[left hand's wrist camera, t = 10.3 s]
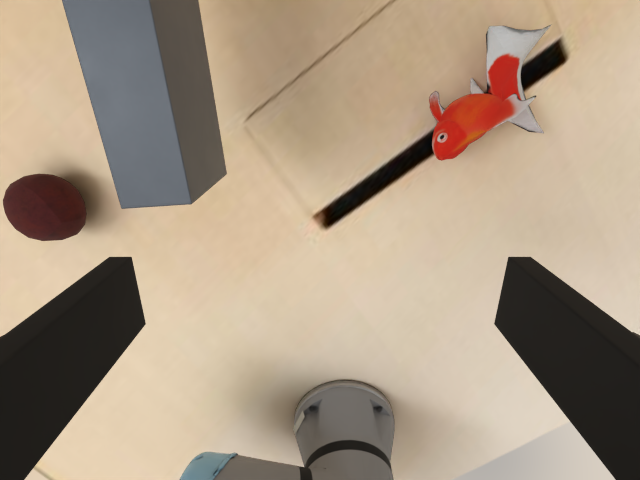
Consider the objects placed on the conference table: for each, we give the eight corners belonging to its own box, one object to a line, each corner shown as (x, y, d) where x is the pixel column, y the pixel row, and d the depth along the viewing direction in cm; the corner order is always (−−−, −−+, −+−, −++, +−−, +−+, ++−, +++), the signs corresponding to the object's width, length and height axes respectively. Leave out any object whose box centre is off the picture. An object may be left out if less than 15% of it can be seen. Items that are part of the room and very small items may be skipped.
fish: (382, 75, 34) (473, 79, 26) (491, -1, 37) (599, -17, 30) (408, 168, 40) (486, 193, 33) (498, 96, 44) (588, 104, 36)
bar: (227, 174, 30) (191, 204, 22) (175, 177, 31) (121, 209, 22) (165, -200, 22) (68, -390, 13) (94, -194, 22) (-47, -378, 13)
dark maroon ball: (64, 156, 41) (15, 166, 34) (113, 210, 43) (76, 229, 37) (21, 191, 42) (-33, 207, 36) (71, 241, 45) (28, 265, 38)
